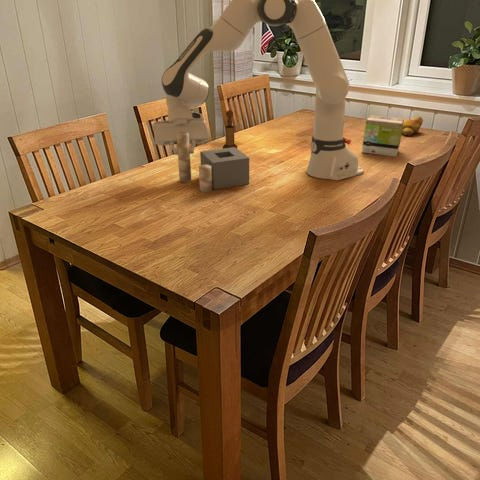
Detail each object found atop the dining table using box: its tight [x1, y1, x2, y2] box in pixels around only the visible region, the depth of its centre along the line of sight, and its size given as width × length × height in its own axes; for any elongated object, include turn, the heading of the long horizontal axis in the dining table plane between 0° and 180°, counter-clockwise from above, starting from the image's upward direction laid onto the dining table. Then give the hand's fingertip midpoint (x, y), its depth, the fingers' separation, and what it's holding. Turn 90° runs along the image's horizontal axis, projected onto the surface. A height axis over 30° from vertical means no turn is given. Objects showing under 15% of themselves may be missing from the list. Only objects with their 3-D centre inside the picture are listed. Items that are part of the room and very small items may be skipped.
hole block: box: [199, 147, 250, 190], centre depth 175 cm, size 14×14×10 cm
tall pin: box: [176, 132, 192, 184], centre depth 172 cm, size 4×4×18 cm
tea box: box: [361, 114, 405, 158], centre depth 204 cm, size 15×10×15 cm
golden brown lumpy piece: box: [402, 116, 424, 136], centre depth 232 cm, size 13×10×8 cm
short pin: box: [198, 164, 213, 194], centre depth 166 cm, size 4×4×9 cm
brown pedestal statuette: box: [222, 109, 238, 149], centre depth 204 cm, size 7×6×18 cm
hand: (183, 153), depth 171 cm, fingers closed on tall pin, 4 cm apart
